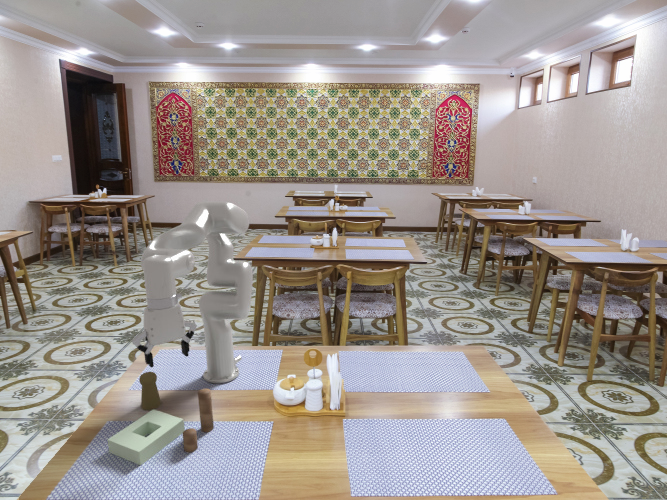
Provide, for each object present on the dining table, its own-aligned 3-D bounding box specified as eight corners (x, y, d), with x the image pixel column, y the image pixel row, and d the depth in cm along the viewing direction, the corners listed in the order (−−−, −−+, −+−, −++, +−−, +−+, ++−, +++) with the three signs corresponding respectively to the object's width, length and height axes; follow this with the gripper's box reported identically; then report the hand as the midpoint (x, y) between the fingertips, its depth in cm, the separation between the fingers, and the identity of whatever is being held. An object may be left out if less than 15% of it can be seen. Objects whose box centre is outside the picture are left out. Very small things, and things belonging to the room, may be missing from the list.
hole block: (154, 421, 141) (153, 409, 140) (184, 431, 135) (183, 419, 134) (109, 452, 127) (107, 439, 126) (140, 465, 121) (139, 452, 120)
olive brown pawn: (154, 411, 146) (150, 379, 143) (137, 409, 147) (133, 377, 144) (164, 400, 152) (161, 370, 149) (148, 398, 153) (144, 368, 150)
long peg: (206, 423, 139) (203, 387, 136) (216, 426, 137) (213, 390, 135) (198, 430, 136) (195, 393, 133) (208, 433, 134) (204, 396, 132)
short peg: (190, 442, 130) (189, 427, 129) (200, 446, 129) (199, 430, 128) (181, 450, 127) (179, 434, 126) (191, 454, 126) (189, 437, 124)
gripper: (188, 291, 132) (193, 346, 136) (124, 305, 122) (131, 364, 126) (198, 297, 126) (203, 355, 130) (132, 313, 116) (140, 375, 120)
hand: (168, 360), depth 128 cm, fingers open, 9 cm apart
